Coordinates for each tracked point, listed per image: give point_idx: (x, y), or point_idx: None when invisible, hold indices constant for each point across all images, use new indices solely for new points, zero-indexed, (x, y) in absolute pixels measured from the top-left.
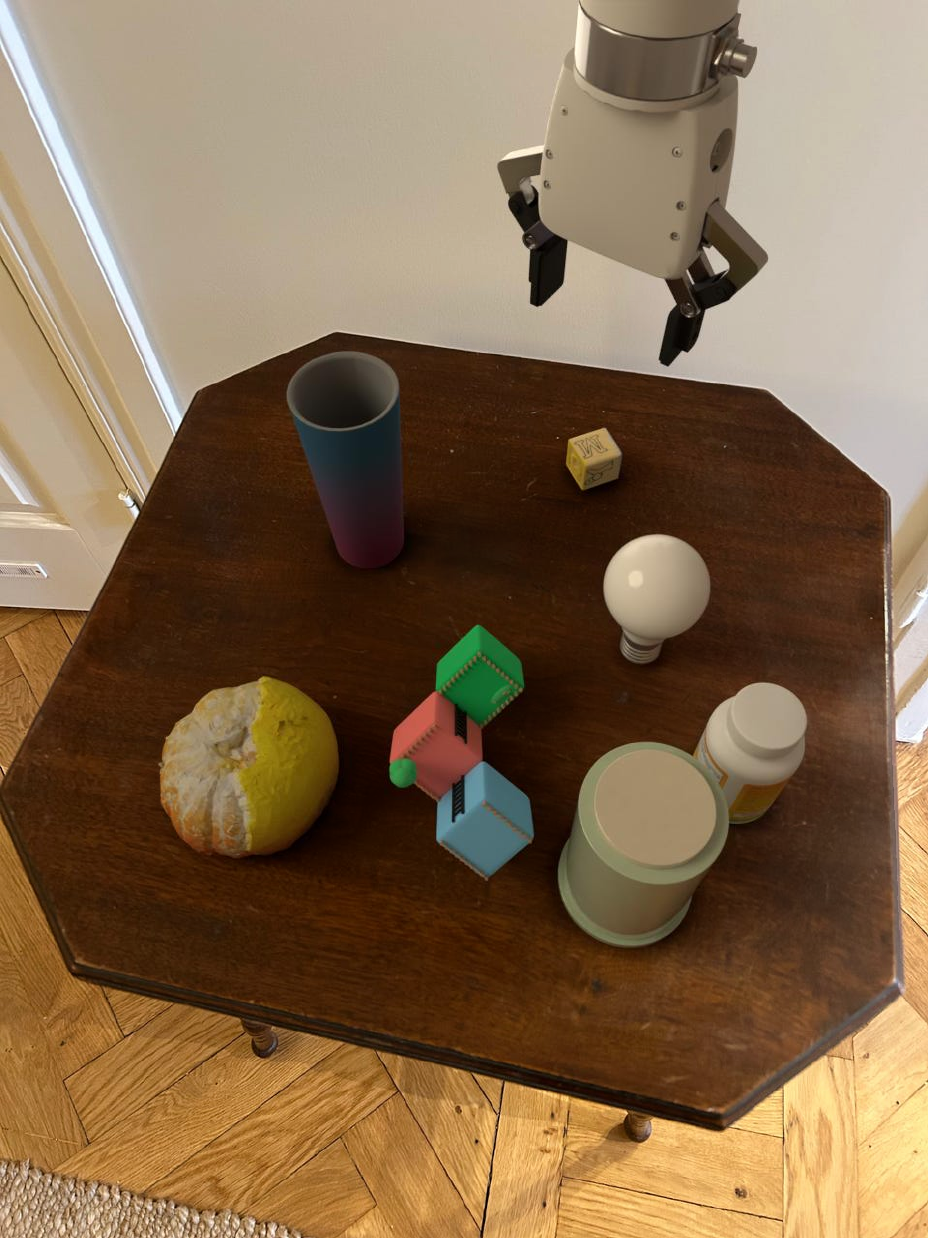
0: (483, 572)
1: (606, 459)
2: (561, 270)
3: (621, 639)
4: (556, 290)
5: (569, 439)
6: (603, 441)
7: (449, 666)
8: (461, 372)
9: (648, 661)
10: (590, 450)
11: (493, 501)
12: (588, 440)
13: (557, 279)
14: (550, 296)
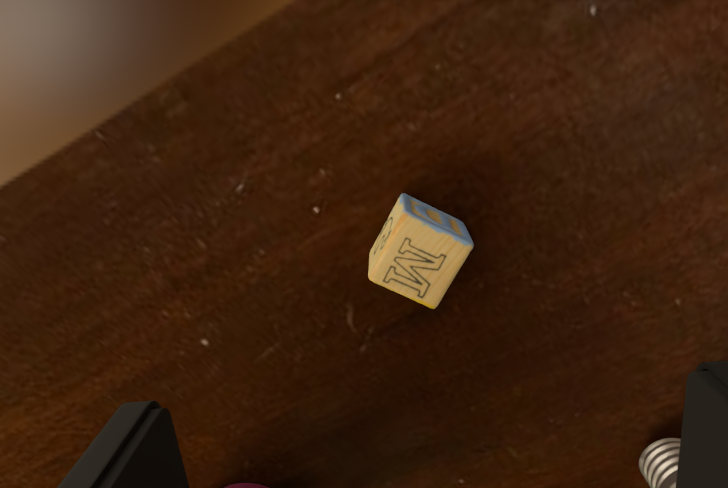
0: (405, 472)
1: (455, 272)
2: (139, 478)
3: (645, 477)
4: (176, 444)
5: (369, 277)
6: (425, 243)
7: None
8: (65, 192)
9: None
10: (419, 275)
11: (329, 377)
12: (400, 259)
13: (156, 478)
14: (185, 477)
